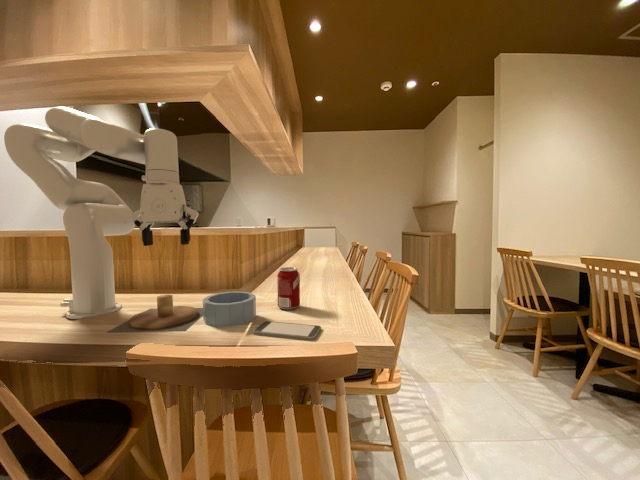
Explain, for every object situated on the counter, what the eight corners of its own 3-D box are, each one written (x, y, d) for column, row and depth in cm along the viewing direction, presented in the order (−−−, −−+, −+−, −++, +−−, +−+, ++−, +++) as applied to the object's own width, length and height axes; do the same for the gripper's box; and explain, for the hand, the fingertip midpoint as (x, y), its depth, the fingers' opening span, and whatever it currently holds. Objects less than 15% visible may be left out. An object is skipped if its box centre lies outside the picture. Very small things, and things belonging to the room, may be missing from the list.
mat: (106, 334, 64) (106, 332, 64) (150, 310, 82) (150, 308, 82) (185, 333, 65) (185, 330, 65) (211, 309, 83) (211, 307, 83)
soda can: (289, 312, 80) (288, 271, 80) (273, 308, 85) (272, 269, 84) (304, 306, 86) (304, 268, 85) (288, 303, 90) (288, 266, 89)
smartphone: (265, 320, 72) (321, 325, 68) (265, 324, 72) (321, 330, 68) (251, 331, 65) (313, 337, 61) (251, 336, 65) (313, 342, 61)
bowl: (196, 329, 68) (195, 305, 67) (214, 312, 81) (213, 291, 80) (249, 328, 68) (249, 304, 68) (258, 311, 81) (258, 291, 81)
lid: (113, 330, 65) (112, 305, 65) (151, 309, 81) (150, 289, 81) (182, 329, 66) (182, 304, 66) (207, 308, 82) (206, 288, 82)
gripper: (119, 178, 69) (123, 247, 69) (189, 176, 69) (193, 245, 70) (138, 182, 76) (142, 244, 77) (202, 181, 76) (205, 243, 77)
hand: (166, 244), depth 73 cm, fingers open, 9 cm apart
